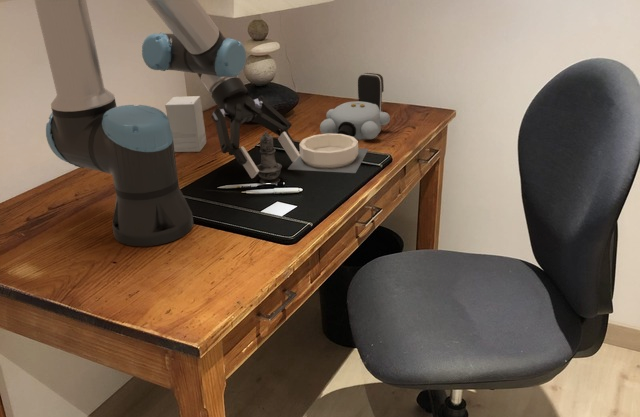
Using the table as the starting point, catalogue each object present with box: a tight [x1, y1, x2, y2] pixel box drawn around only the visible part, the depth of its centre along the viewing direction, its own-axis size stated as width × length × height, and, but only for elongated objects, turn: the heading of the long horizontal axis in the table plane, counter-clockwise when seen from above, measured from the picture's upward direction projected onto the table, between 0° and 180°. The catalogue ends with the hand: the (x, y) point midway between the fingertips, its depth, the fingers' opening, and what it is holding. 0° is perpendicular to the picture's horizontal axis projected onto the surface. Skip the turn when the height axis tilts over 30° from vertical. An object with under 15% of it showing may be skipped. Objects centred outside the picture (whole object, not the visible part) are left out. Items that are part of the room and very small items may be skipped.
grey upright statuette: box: [256, 130, 283, 184], centre depth 146 cm, size 6×6×12 cm
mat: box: [287, 147, 369, 174], centre depth 159 cm, size 16×16×1 cm
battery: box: [357, 72, 384, 112], centre depth 190 cm, size 7×4×11 cm, turn 61°
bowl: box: [298, 133, 359, 168], centre depth 158 cm, size 13×13×4 cm
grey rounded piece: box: [319, 100, 391, 141], centre depth 174 cm, size 17×8×20 cm
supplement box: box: [164, 95, 207, 153], centre depth 170 cm, size 7×7×13 cm
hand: (276, 166), depth 145 cm, fingers open, 11 cm apart
